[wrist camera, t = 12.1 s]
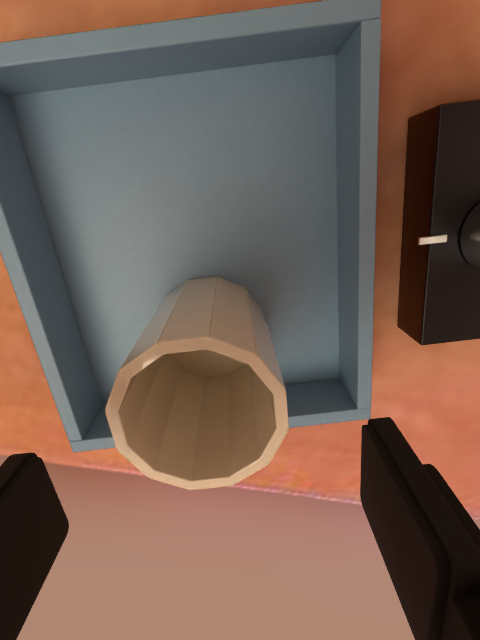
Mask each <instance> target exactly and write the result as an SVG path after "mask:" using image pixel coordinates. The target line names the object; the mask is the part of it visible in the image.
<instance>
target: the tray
mask: <svg viewBox="0 0 480 640" xmlns="http://www.w3.org/2000/svg"><path fill="white" fill-rule="evenodd" d="M380 17H381V0H324V1H317V2H309V3H301V4H294V5H286V6H278V7H270V8H263V9H255V10H247V11H240V12H232V13H224V14H216V15H209V16H201V17H193V18H186V19H178V20H170V21H163V22H155V23H147V24H139V25H132V26H124V27H116V28H109V29H101V30H93V31H85V32H78V33H70V34H62V35H55V36H47V37H39V38H31V39H24V40H16V41H8V42H1V43H0V252H1V255H2V258H3V260H4V263H5V266H6V269H7V271H8V274H9V277H10V280H11V282H12V285H13V288H14V291H15V293H16V296H17V299H18V302H19V304H20V307H21V310H22V313H23V316H24V318H25V321H26V324H27V327H28V329H29V332H30V335H31V338H32V340H33V343H34V346H35V349H36V351H37V354H38V357H39V360H40V362H41V365H42V368H43V371H44V373H45V376H46V379H47V382H48V384H49V387H50V390H51V393H52V395H53V398H54V401H55V404H56V407H57V409H58V412H59V415H60V418H61V420H62V423H63V426H64V429H65V431H66V434H67V437H68V440H69V441H70V445H71V448H72V451H73V452H81V451H90V450H98V449H107V448H116V446H115V443H114V440H113V437H112V433H111V430H110V427H109V423H108V420H107V417H106V414H105V407H106V405H107V402H108V399H109V396H110V393H111V390H112V388H113V385H114V382H115V379H116V376H117V373H118V371H119V369H120V368H121V366H122V365H123V363H124V361H125V360H126V358H127V357H128V355H129V353H130V352H131V350H132V349H133V347H134V345H135V344H136V342H137V340H138V339H139V337H140V336H141V334H142V332H143V331H144V329H145V328H146V326H147V324H148V323H149V321H150V319H151V318H152V316H153V315H154V313H155V311H156V310H157V308H158V307H159V305H160V303H161V302H162V300H163V299H164V297H165V296H167V295H168V294H169V293H171V292H172V291H173V290H175V289H176V288H177V287H179V286H180V285H181V284H182V283H184V282H185V281H188V280H191V279H199V278H208V277H216V276H217V277H221V278H223V279H226V280H228V281H230V282H233V283H235V284H238V285H240V286H242V287H245V288H246V289H247V290H248V291H249V293H250V294H251V295H252V296H253V298H254V299H255V300H256V302H257V303H258V304H259V306H260V307H261V308H262V310H263V312H264V315H265V319H266V322H267V326H268V329H269V333H270V336H271V340H272V343H273V347H274V350H275V354H276V357H277V361H278V364H279V368H280V371H281V375H282V378H283V382H284V385H285V389H286V396H287V409H288V422H289V428H293V427H302V426H311V425H319V424H328V423H337V422H346V421H355V420H364V419H370V418H371V389H372V351H373V313H374V275H375V237H376V198H377V160H378V122H379V84H380V46H381V19H380Z"/></svg>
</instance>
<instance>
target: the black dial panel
mask: <svg viewBox="0 0 480 640" xmlns="http://www.w3.org/2000/svg"><path fill="white" fill-rule="evenodd" d="M479 202H480V99H479V100H471V101H463V102H455V103H447V104H441V105H438V106H436V107H434V108H431V109H429V110H426V111H424V112H422V113H419V114H417V115H414V116H412V117H410V118H409V120H408V138H407V157H406V176H405V194H404V213H403V232H402V250H401V269H400V288H399V306H398V327H399V328H400V329H401V330H403V331H404V332H405V333H406V334H408V335H409V336H410V337H411V338H413V339H414V340H415V341H416V342H418V343H419V344H420V345H428V344H436V343H445V342H454V341H462V340H471V339H480V269H478V268H476V267H474V266H472V265H471V264H470V263H469V262H468V261H467V260H466V258H465V257H464V255H463V253H462V250H461V243H460V238H461V231H462V228H463V225H464V223H465V220H466V219H467V217H468V215H469V214H470V212H471V211H472V210H473V209H474V207H475V206H476V205H477V204H478V203H479Z"/></svg>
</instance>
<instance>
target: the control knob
mask: <svg viewBox="0 0 480 640" xmlns="http://www.w3.org/2000/svg"><path fill="white" fill-rule="evenodd" d="M460 243H461V250H462V253H463V255H464V257H465V258H466V260H467V261H468V262H469V263H470V264H471V265H472V266H474V267H476V268H478V269H480V202H479V203H478V204H477V205H476V206H475V207H474V209H473V210H472V211H471V212H470V214H469V215H468V217H467V219H466V220H465V223H464V225H463V228H462V231H461V238H460Z"/></svg>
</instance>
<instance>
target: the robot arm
mask: <svg viewBox="0 0 480 640" xmlns="http://www.w3.org/2000/svg"><path fill="white" fill-rule="evenodd" d="M360 495H361V502H362V506H363V508H364V511H365V514H366V516H367V519H368V521H369V524H370V526H371V529H372V531H373V534H374V537H375V539H376V542H377V544H378V547H379V549H380V552H381V554H382V556H383V559H384V562H385V564H386V567H387V569H388V572H389V574H390V577H391V580H392V582H393V585H394V587H395V590H396V592H397V595H398V597H399V600H400V602H401V605H402V608H403V610H404V612H405V615H406V618H407V620H408V623H409V625H410V628H411V630H412V633H413V635H414V638H415V640H480V529H479V528H478V527H477V525H476V524H475V523H474V521H473V520H472V518H471V517H470V515H469V514H468V512H467V511H466V510H465V508H464V507H463V505H462V504H461V503H460V501H459V500H458V498H457V497H456V496H455V494H454V493H453V491H452V490H451V488H450V487H449V486H448V484H447V483H446V481H445V480H444V479H443V477H442V476H441V474H440V473H439V472H438V470H437V469H436V468H435V467H434V466H433V465H431V464H423V465H422V463H421V462H420V460H419V459H418V457H417V456H416V454H415V453H414V451H413V450H412V448H411V447H410V445H409V444H408V442H407V441H406V439H405V438H404V436H403V435H402V433H401V432H400V430H399V429H398V427H397V426H396V424H395V423H394V421H393V420H392V419H391V418H390V417H386V418H376V419H369V420H368V425H363V426H362V445H361V489H360ZM68 528H69V524H68V519H67V517H66V515H65V512H64V510H63V507H62V505H61V503H60V500H59V498H58V496H57V493H56V491H55V489H54V487H53V484H52V481H51V479H50V477H49V474H48V472H47V470H46V467H45V465H44V462H43V460H42V459H41V458H40V457H37V455H36V454H35V453H23V454H13V455H11V456H9V457H8V458H7V459H6V460H5V461H4V463H3V464H2V465H1V466H0V640H16V639H17V637H18V635H19V633H20V631H21V629H22V626H23V625H24V622H25V620H26V618H27V616H28V614H29V612H30V610H31V608H32V606H33V604H34V602H35V600H36V598H37V595H38V594H39V591H40V589H41V587H42V585H43V583H44V581H45V579H46V577H47V575H48V573H49V571H50V569H51V567H52V565H53V563H54V561H55V558H56V556H57V554H58V552H59V550H60V548H61V546H62V544H63V542H64V540H65V538H66V536H67V533H68Z"/></svg>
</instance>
